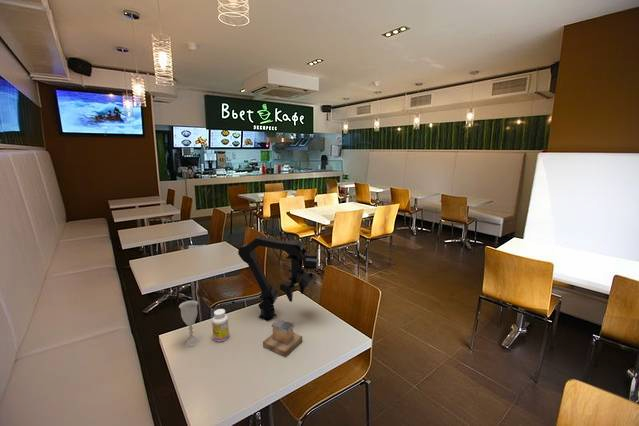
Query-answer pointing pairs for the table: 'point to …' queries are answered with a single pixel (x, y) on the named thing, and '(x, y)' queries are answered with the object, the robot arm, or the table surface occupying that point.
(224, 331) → the supplement bottle
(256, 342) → the table surface
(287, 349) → the walnut stand
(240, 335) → the table surface
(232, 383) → the table surface
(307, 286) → the robot arm
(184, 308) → the chalice
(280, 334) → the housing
